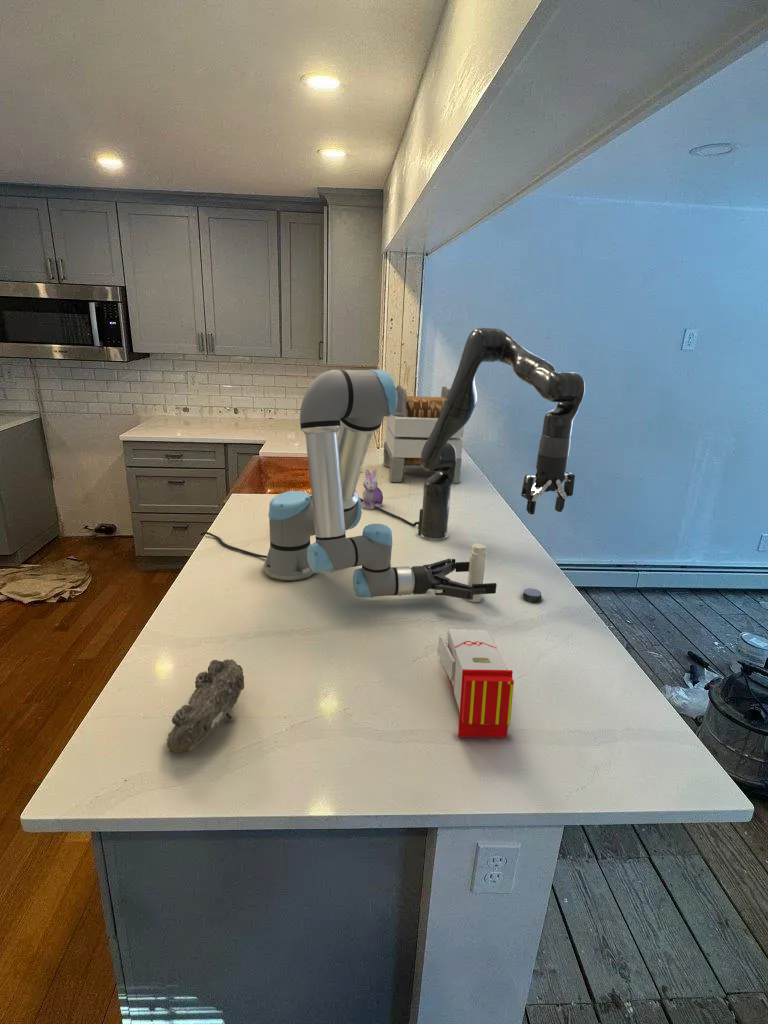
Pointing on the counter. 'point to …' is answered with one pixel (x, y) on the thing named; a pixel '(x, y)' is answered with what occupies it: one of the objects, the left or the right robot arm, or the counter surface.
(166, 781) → the counter surface
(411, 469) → the counter surface
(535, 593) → the lid
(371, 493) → the figurine
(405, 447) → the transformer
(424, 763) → the counter surface
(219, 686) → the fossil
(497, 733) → the toy
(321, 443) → the left robot arm
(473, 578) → the jar
